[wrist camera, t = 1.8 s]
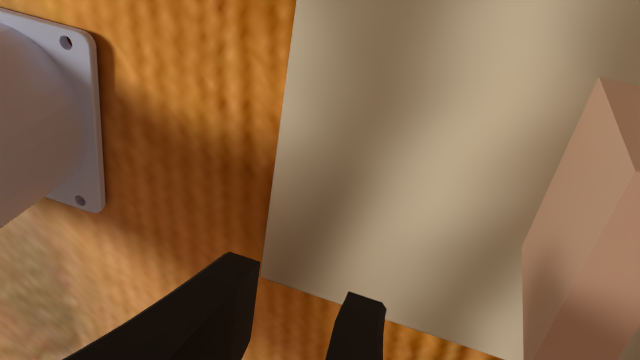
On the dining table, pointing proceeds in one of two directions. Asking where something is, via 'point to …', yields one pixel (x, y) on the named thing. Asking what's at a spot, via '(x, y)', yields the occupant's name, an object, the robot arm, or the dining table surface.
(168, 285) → the dining table surface
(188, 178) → the dining table surface
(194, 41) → the dining table surface
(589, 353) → the block
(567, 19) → the board
